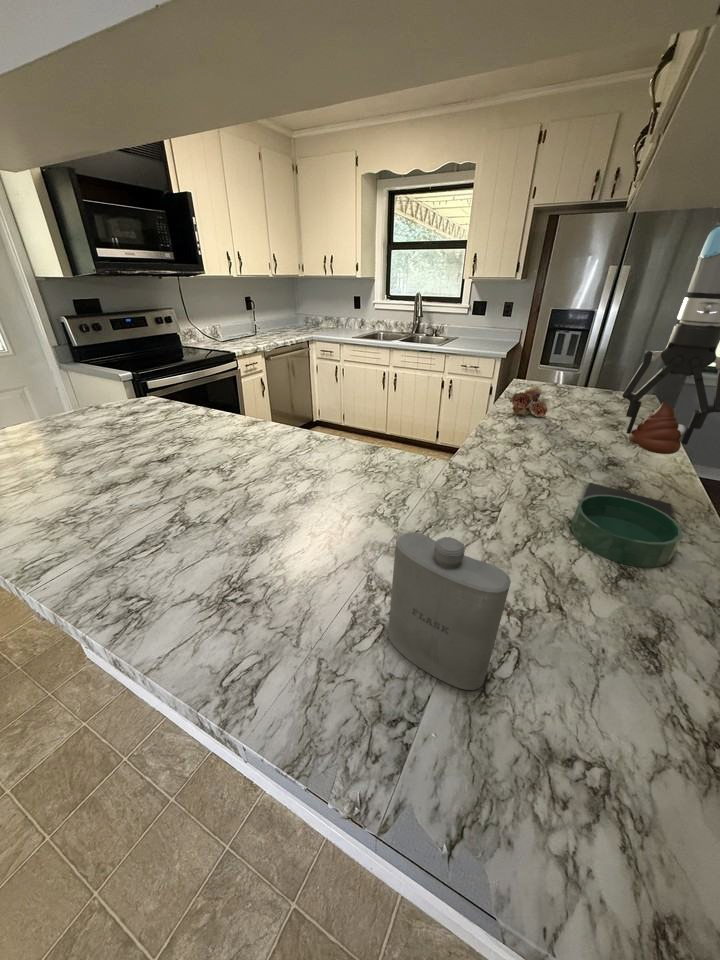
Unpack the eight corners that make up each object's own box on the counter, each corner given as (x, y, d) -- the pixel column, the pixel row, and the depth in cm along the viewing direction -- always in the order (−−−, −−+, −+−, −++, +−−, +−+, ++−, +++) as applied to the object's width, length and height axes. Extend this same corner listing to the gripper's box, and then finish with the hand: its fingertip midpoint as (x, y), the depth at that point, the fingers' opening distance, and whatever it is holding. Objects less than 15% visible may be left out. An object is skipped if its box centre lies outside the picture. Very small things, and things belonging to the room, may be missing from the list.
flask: (377, 641, 59) (385, 530, 49) (399, 618, 63) (410, 511, 53) (472, 703, 50) (503, 584, 41) (490, 672, 55) (522, 557, 45)
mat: (670, 505, 97) (671, 503, 96) (670, 528, 88) (671, 526, 88) (589, 484, 106) (589, 482, 105) (581, 502, 97) (582, 500, 97)
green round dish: (671, 534, 86) (681, 512, 83) (671, 581, 72) (683, 557, 70) (578, 506, 95) (585, 486, 92) (563, 543, 81) (570, 521, 79)
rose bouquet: (495, 396, 155) (532, 393, 143) (515, 381, 163) (551, 377, 152) (502, 427, 159) (539, 426, 148) (521, 411, 168) (557, 408, 156)
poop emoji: (618, 438, 89) (632, 397, 84) (653, 437, 89) (669, 396, 85) (650, 456, 80) (668, 411, 76) (689, 455, 81) (709, 411, 76)
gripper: (630, 320, 76) (595, 430, 86) (784, 331, 65) (723, 455, 76) (633, 317, 82) (599, 421, 92) (775, 327, 71) (719, 443, 81)
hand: (655, 436), depth 84 cm, fingers closed on poop emoji, 9 cm apart
